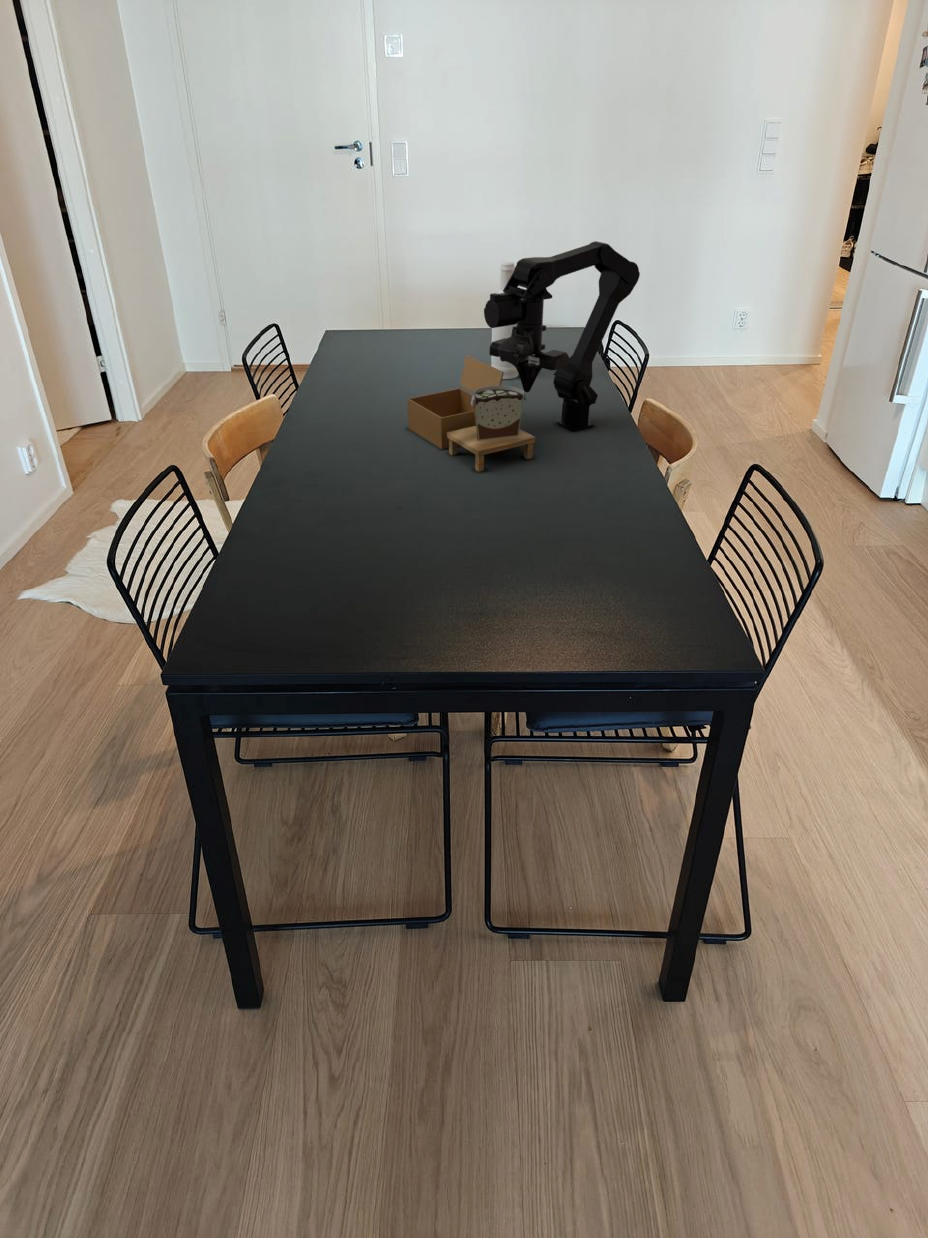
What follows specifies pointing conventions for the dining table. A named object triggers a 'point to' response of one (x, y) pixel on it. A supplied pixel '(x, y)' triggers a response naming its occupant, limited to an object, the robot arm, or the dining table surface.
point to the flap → (479, 375)
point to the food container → (498, 411)
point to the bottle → (504, 327)
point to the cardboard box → (440, 415)
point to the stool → (487, 444)
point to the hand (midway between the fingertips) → (526, 391)
